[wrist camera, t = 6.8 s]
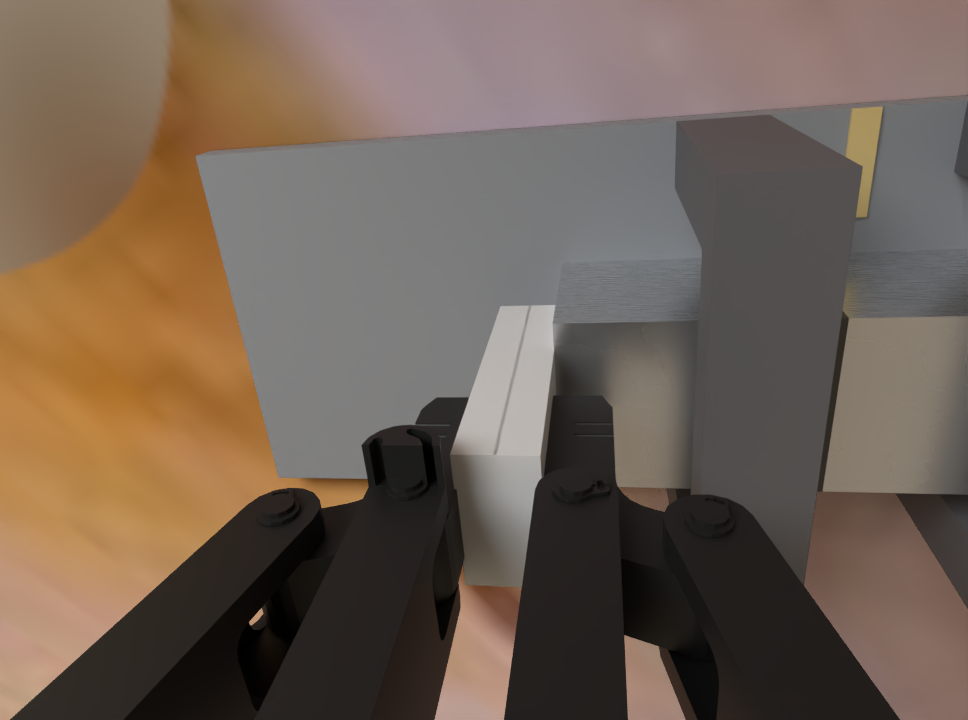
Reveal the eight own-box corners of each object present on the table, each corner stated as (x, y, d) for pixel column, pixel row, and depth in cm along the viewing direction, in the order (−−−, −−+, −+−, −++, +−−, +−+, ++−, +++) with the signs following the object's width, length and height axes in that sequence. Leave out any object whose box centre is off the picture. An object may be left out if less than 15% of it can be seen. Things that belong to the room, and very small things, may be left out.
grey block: (567, 400, 19) (559, 486, 16) (562, 262, 18) (552, 323, 14) (962, 400, 18) (1054, 496, 14) (999, 248, 16) (1114, 313, 12)
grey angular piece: (210, 151, 19) (13, 216, 12) (1158, 80, 15) (1564, 125, 9) (288, 463, 23) (172, 629, 17) (1039, 471, 19) (1252, 691, 13)
